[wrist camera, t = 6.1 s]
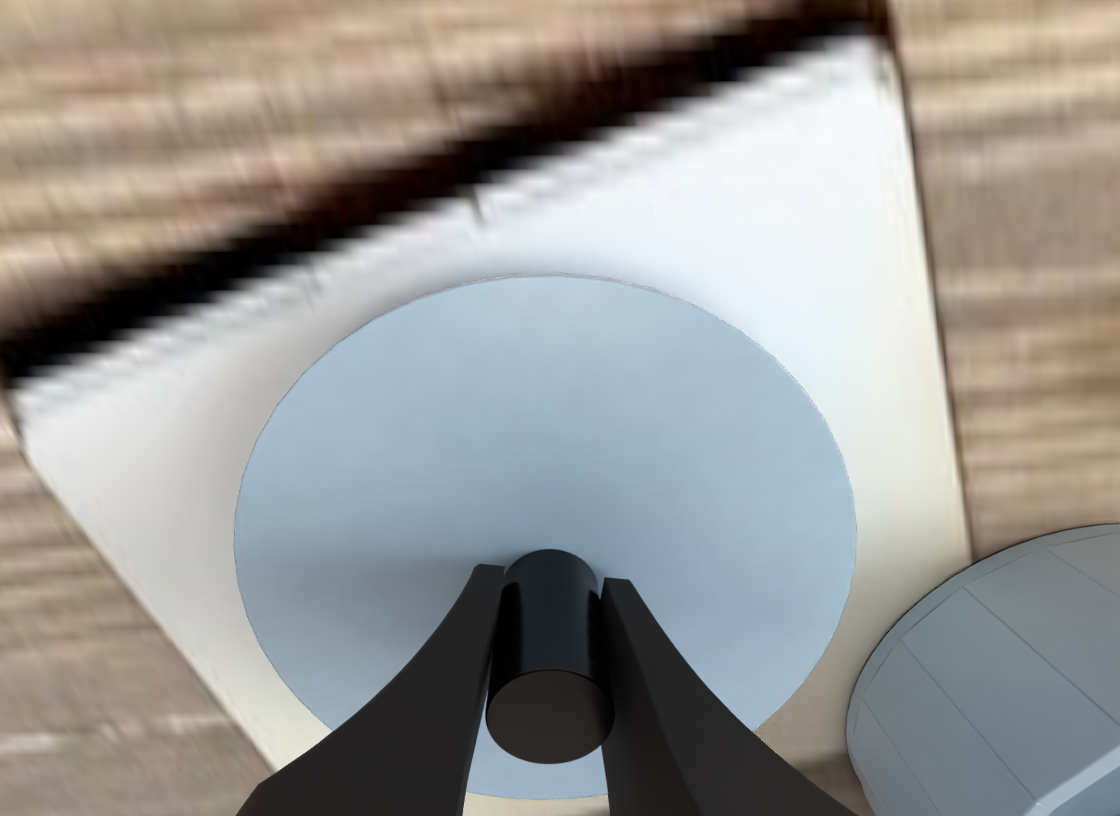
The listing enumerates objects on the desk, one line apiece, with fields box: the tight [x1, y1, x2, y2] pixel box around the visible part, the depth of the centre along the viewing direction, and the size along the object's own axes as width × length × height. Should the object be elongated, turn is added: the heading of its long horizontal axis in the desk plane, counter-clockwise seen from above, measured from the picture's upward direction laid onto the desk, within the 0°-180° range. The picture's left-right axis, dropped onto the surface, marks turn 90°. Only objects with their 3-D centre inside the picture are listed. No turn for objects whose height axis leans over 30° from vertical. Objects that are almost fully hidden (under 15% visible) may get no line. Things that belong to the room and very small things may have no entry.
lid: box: [234, 273, 857, 800], centre depth 12 cm, size 15×15×5 cm
